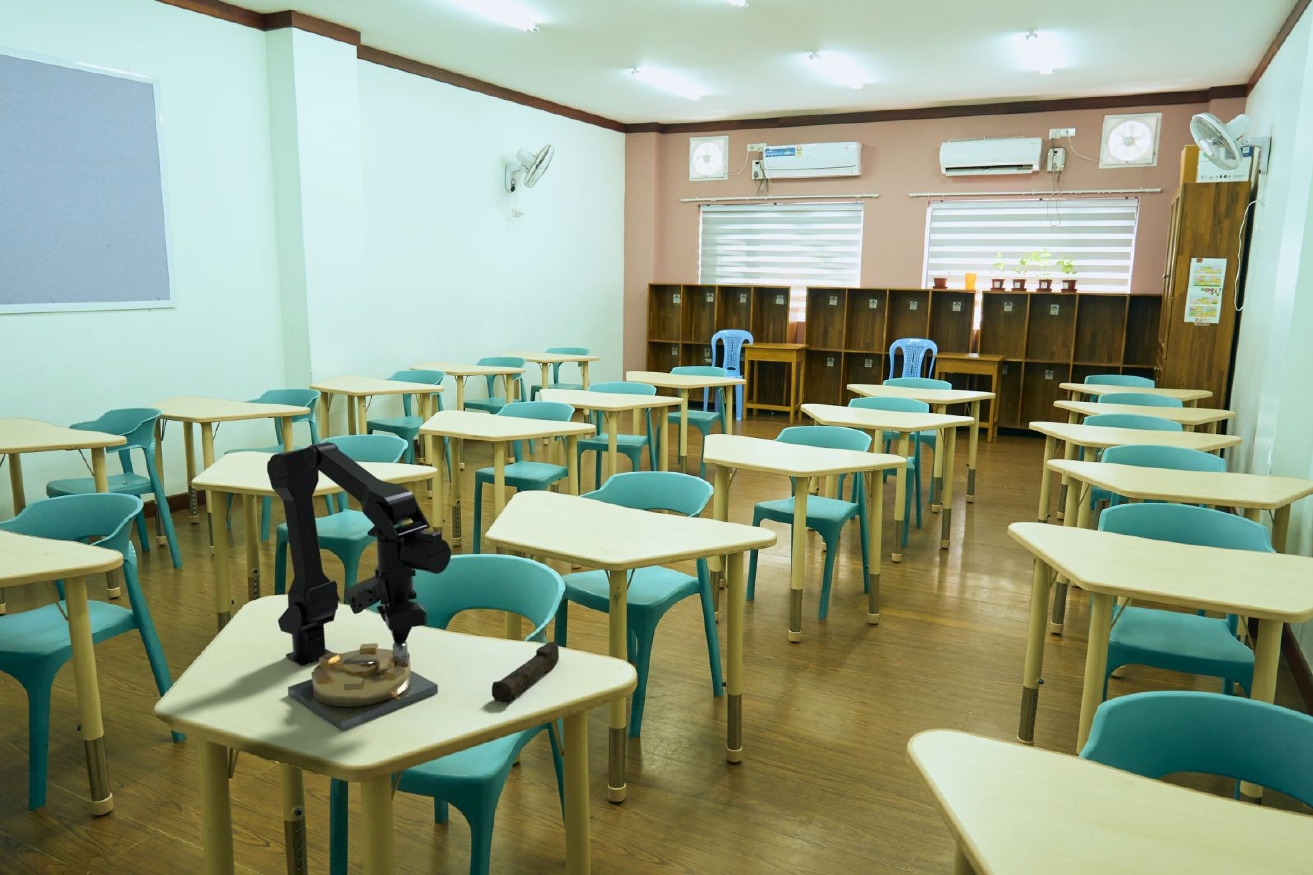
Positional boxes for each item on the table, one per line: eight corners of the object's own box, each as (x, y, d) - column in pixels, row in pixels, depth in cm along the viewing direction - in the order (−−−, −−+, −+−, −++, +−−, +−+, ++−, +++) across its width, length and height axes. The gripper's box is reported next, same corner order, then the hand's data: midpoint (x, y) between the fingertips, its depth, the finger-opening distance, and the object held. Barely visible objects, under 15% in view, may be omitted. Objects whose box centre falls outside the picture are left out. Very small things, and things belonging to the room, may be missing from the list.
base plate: (288, 695, 152) (287, 686, 152) (381, 662, 166) (381, 653, 165) (341, 731, 141) (341, 721, 140) (437, 692, 154) (437, 683, 153)
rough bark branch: (509, 707, 149) (509, 681, 149) (490, 701, 151) (490, 676, 150) (570, 664, 166) (570, 641, 165) (552, 660, 168) (552, 637, 167)
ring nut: (303, 709, 144) (300, 669, 143) (324, 666, 159) (322, 630, 158) (404, 703, 146) (402, 663, 145) (416, 661, 162) (414, 625, 160)
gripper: (338, 553, 156) (342, 636, 159) (355, 587, 140) (360, 679, 143) (402, 545, 162) (405, 626, 164) (426, 577, 145) (429, 666, 148)
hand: (399, 648), depth 155 cm, fingers closed
